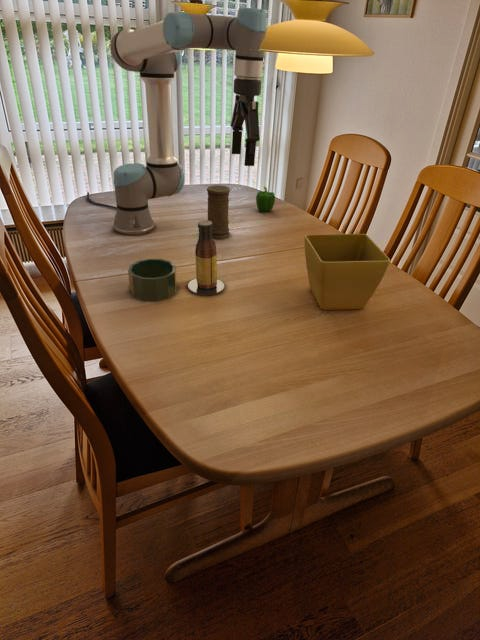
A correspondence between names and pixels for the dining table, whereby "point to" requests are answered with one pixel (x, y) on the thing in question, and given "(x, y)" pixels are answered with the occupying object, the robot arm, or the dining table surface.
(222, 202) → the container
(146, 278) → the crock
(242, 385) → the dining table surface
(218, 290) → the coaster
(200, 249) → the sauce bottle
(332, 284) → the flower pot
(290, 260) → the dining table surface
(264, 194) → the bell pepper
